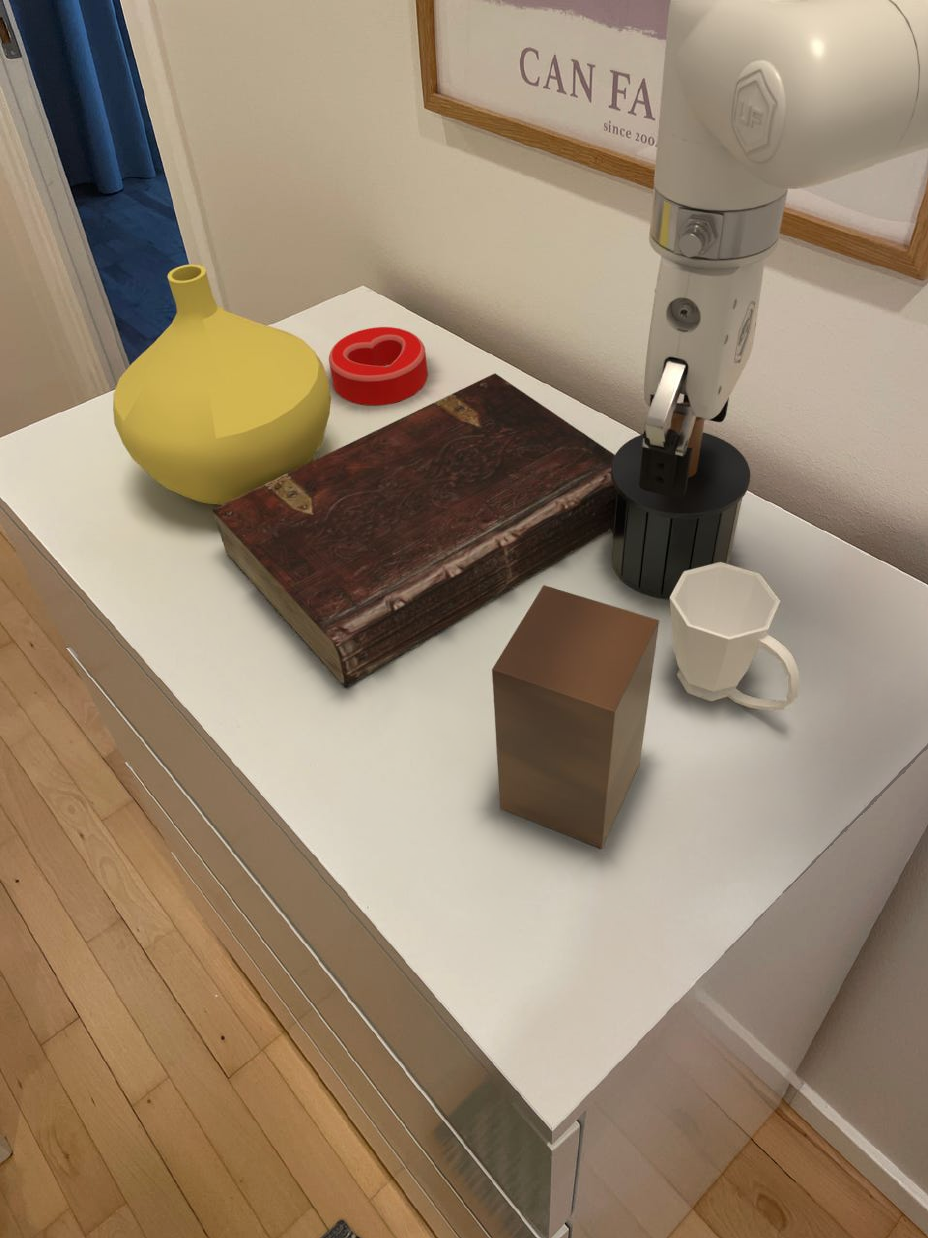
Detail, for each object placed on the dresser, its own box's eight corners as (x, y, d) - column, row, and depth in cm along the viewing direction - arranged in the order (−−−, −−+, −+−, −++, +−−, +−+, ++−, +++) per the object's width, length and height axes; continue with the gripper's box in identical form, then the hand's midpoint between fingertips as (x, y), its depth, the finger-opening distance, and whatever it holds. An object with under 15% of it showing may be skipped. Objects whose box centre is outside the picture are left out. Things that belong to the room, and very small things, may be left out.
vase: (285, 555, 79) (229, 351, 65) (102, 514, 84) (14, 317, 70) (374, 428, 90) (344, 232, 76) (209, 399, 95) (152, 210, 81)
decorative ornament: (380, 417, 91) (375, 389, 89) (313, 383, 96) (308, 355, 94) (447, 372, 96) (444, 344, 94) (380, 342, 101) (377, 315, 98)
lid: (765, 451, 71) (778, 388, 67) (727, 534, 65) (739, 470, 61) (637, 422, 74) (643, 360, 70) (590, 498, 68) (593, 435, 64)
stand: (640, 763, 63) (659, 619, 52) (601, 849, 58) (614, 712, 48) (542, 728, 65) (543, 584, 55) (499, 808, 61) (491, 669, 51)
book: (347, 689, 68) (336, 643, 65) (227, 555, 79) (212, 509, 75) (636, 515, 79) (641, 468, 76) (496, 418, 90) (495, 373, 86)
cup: (703, 625, 70) (718, 546, 65) (815, 705, 65) (843, 626, 59) (637, 674, 68) (647, 595, 62) (748, 761, 62) (770, 684, 56)
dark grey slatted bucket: (741, 538, 77) (759, 453, 71) (707, 613, 71) (723, 529, 65) (633, 509, 80) (641, 426, 74) (593, 579, 74) (598, 496, 68)
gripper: (738, 295, 49) (698, 541, 61) (814, 166, 59) (766, 399, 72) (602, 271, 52) (590, 512, 64) (698, 151, 62) (671, 379, 74)
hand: (683, 452), depth 68 cm, fingers open, 9 cm apart
